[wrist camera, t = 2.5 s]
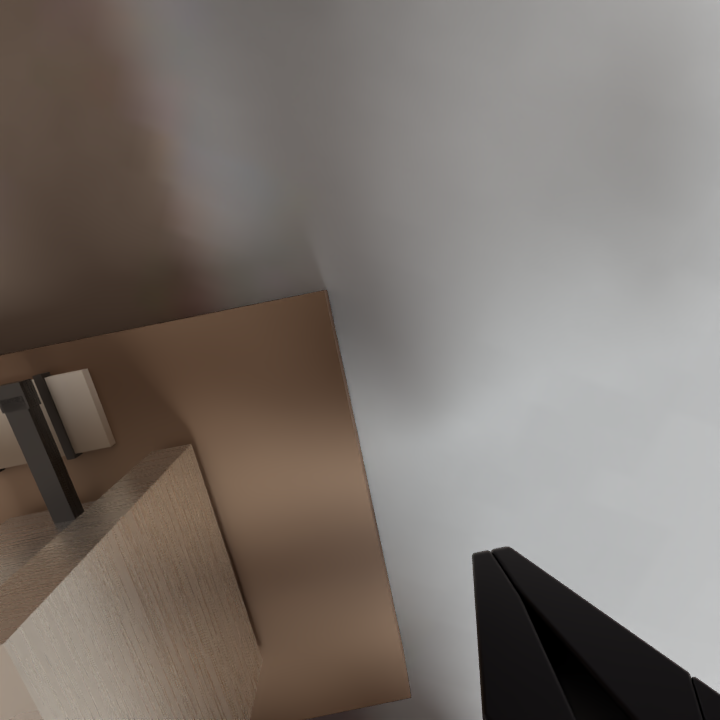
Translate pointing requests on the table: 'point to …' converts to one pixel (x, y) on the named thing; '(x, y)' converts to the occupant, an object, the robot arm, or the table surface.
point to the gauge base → (241, 479)
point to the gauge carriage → (119, 593)
